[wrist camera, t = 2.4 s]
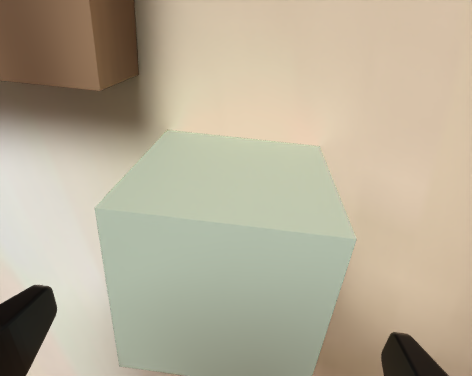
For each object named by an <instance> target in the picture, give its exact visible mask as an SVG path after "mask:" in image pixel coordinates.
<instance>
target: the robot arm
mask: <svg viewBox="0 0 472 376" xmlns="http://www.w3.org/2000/svg"><path fill="white" fill-rule="evenodd" d="M56 313H57V305H56V301H55V298H54V294H53V290H52V288H51V287H49V286H43V285H33V286H31V287H29V288H27V289H26V290H24V291H22V292H21V293H19V294H17V295H15V296H14V297H12V298H10V299H8V300H7V301H5V302H3V303H1V304H0V376H26V374H27V373H28V371H29V369H30V367H31V365H32V363H33V361H34V359H35V357H36V355H37V353H38V351H39V349H40V347H41V345H42V343H43V341H44V339H45V337H46V335H47V332H48V330H49V328H50V326H51V324H52V322H53V320H54V318H55V316H56ZM381 361H382V367H383V373H384V376H448V374H447V373H446V372H445V371H444V370H443V369H442V368H441V367H440V366H439V365H438V364H437V363H436V362H435V361H434V360H433V359H432V358H431V356H430V355H429V354H428V353H427V352H426V351H425V350H424V349H423V348H422V347H421V346H420V345H419V344H418V343H417V342H416V341H415V340H414V339H413V338H412V337H411V336H410V335H408V334H404V333H397V332H393V333H391V334H390V336H389V338H388V340H387V342H386V344H385V346H384V348H383V351H382V354H381Z"/></svg>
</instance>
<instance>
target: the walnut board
mask: <svg viewBox="0 0 472 376" xmlns="http://www.w3.org/2000/svg"><path fill="white" fill-rule="evenodd" d="M137 75H139V71H138V55H137V39H136V24H135V8H134V0H0V81H10V82H19V83H29V84H39V85H48V86H58V87H68V88H77V89H87V90H97V91H101V90H103V89H106V88H108V87H110V86H113V85H115V84H118V83H120V82H122V81H125V80H127V79H129V78H132V77H134V76H137Z"/></svg>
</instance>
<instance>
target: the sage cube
mask: <svg viewBox="0 0 472 376" xmlns="http://www.w3.org/2000/svg"><path fill="white" fill-rule="evenodd" d="M95 214H96V220H97V227H98V233H99V240H100V246H101V252H102V259H103V265H104V272H105V278H106V284H107V291H108V297H109V304H110V310H111V316H112V323H113V329H114V335H115V342H116V348H117V355H118V361H119V366H120V367H128V368H135V369H142V370H149V371H156V372H163V373H170V374H177V375H184V376H312V375H313V372H314V369H315V366H316V363H317V360H318V357H319V354H320V351H321V348H322V344H323V341H324V338H325V335H326V332H327V329H328V326H329V323H330V320H331V317H332V314H333V311H334V307H335V304H336V301H337V298H338V295H339V292H340V289H341V286H342V283H343V280H344V277H345V274H346V271H347V267H348V264H349V261H350V258H351V255H352V252H353V249H354V246H355V243H356V240H357V239H356V236H355V234H354V231H353V229H352V226H351V224H350V221H349V219H348V216H347V214H346V211H345V209H344V206H343V204H342V201H341V199H340V196H339V194H338V191H337V189H336V186H335V184H334V181H333V179H332V176H331V174H330V171H329V169H328V166H327V164H326V161H325V159H324V156H323V154H322V151H321V149H320V146H313V145H304V144H294V143H285V142H276V141H266V140H257V139H248V138H239V137H229V136H220V135H211V134H201V133H192V132H183V131H174V130H167V131H166V132H165V133H164V134H163V135H162V136H161V137H160V138H159V139H158V140H157V141H156V142H155V144H154V145H153V146H152V147H151V148H150V149H149V150H148V151H147V152H146V153H145V154H144V155H143V156H142V157H141V159H140V160H139V161H138V162H137V163H136V164H135V165H134V166H133V167H132V168H131V169H130V170H129V171H128V173H127V174H126V175H125V176H124V177H123V178H122V179H121V180H120V181H119V182H118V183H117V184H116V185H115V186H114V188H113V189H112V190H111V191H110V192H109V193H108V194H107V195H106V196H105V197H104V198H103V199H102V200H101V202H100V203H99V204H98V205H97V206H96V207H95Z"/></svg>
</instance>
